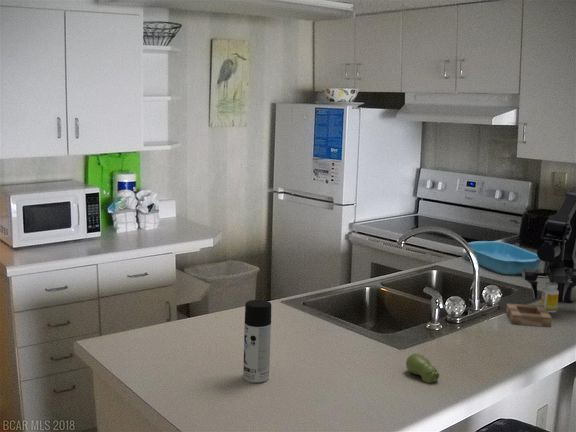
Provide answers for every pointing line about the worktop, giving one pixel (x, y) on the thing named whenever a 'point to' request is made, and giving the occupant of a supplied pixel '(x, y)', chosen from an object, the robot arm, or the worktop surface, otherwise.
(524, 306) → the walnut jig
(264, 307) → the spray can
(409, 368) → the pear
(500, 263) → the casserole dish
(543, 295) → the supplement bottle
